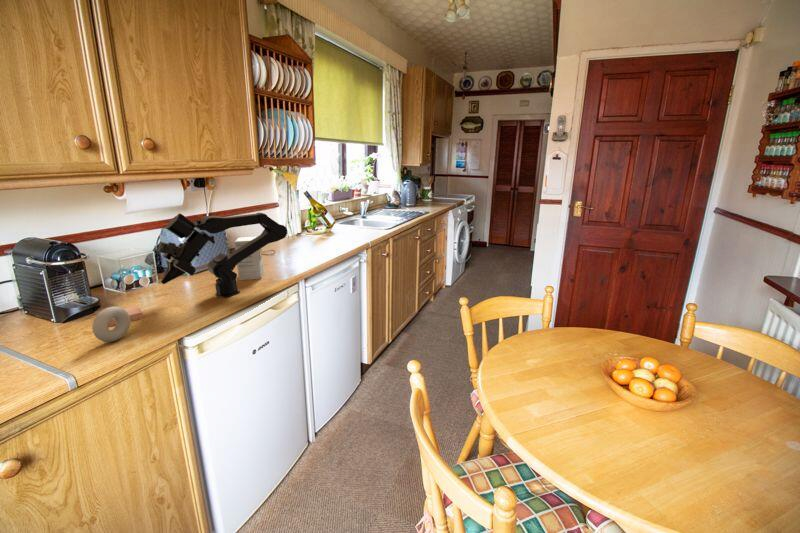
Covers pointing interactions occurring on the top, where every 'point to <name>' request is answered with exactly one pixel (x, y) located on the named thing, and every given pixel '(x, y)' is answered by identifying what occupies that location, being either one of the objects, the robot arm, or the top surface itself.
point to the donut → (103, 319)
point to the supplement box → (249, 262)
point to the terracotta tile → (130, 314)
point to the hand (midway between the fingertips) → (162, 283)
